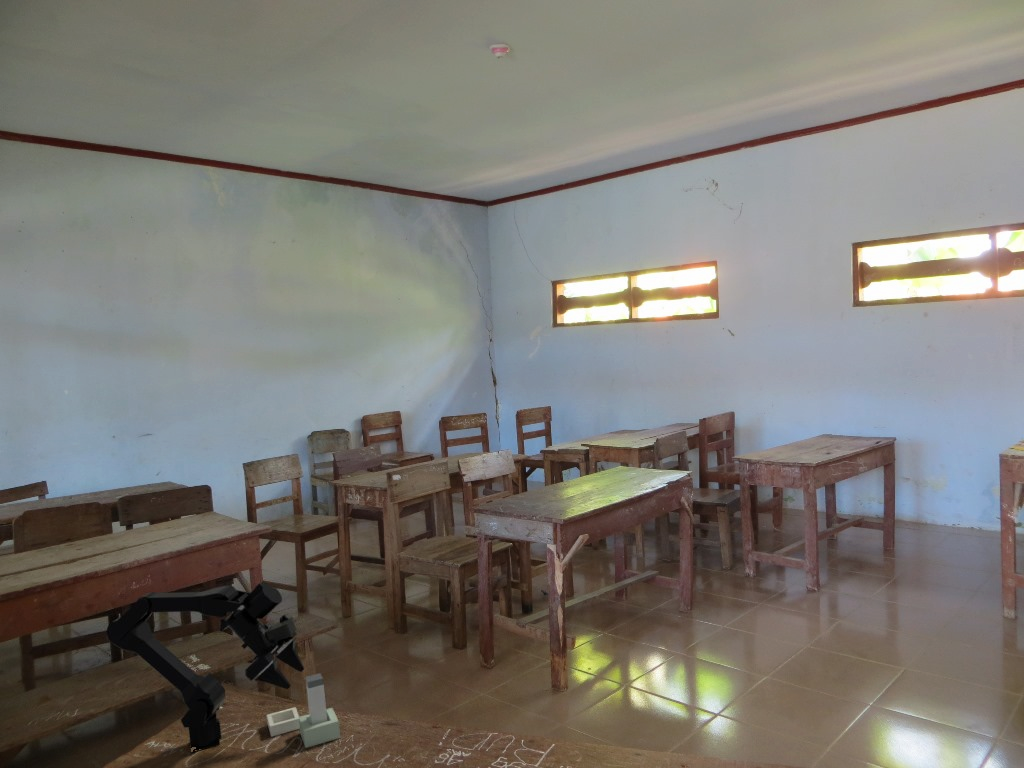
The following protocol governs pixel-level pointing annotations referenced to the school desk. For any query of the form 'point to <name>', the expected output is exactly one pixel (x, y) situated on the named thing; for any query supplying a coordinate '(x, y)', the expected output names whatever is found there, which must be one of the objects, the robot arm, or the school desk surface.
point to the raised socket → (319, 729)
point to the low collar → (283, 721)
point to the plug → (316, 699)
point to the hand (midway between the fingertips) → (296, 678)
